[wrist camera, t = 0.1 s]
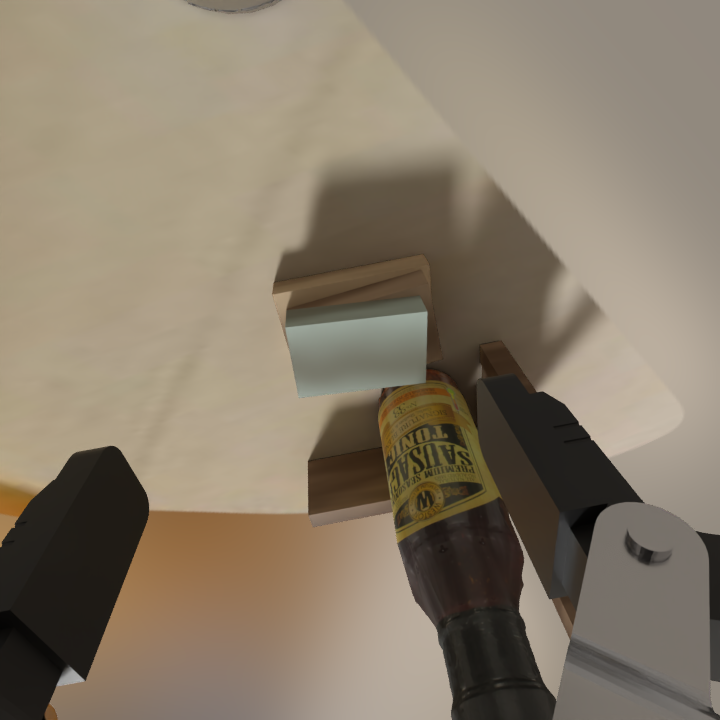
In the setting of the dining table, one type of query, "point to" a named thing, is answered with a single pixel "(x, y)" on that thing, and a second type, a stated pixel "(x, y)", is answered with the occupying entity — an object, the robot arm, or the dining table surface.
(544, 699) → the sauce bottle
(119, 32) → the dining table surface
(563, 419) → the robot arm
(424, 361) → the offcut stack
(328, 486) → the walnut rack
